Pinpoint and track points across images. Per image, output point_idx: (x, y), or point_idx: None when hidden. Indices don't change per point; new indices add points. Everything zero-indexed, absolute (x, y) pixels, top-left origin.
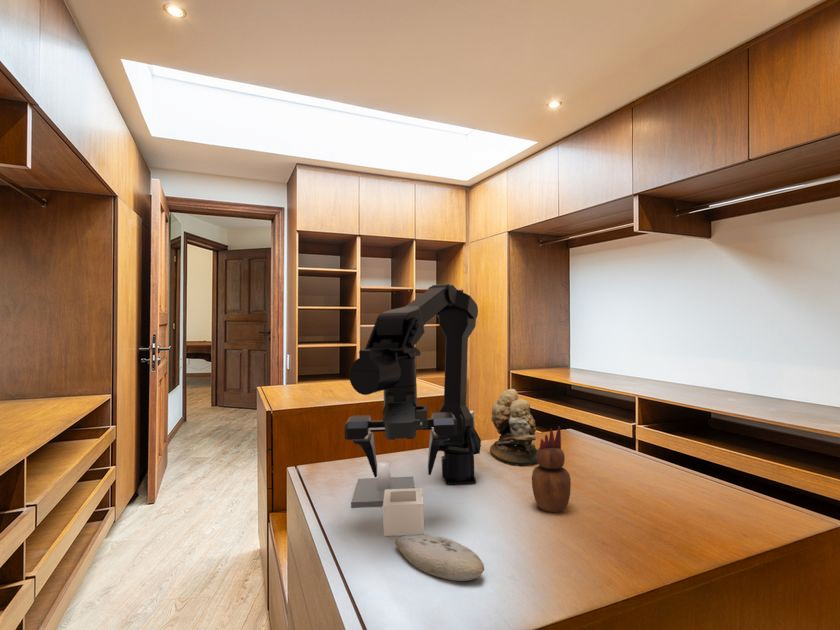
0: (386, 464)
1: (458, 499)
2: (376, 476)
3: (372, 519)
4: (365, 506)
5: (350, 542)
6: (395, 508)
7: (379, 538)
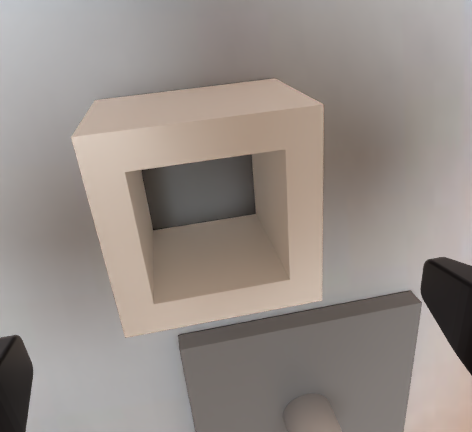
0: None
1: None
2: (432, 259)
3: (330, 214)
4: (362, 301)
5: (408, 21)
6: (244, 110)
7: (291, 58)
